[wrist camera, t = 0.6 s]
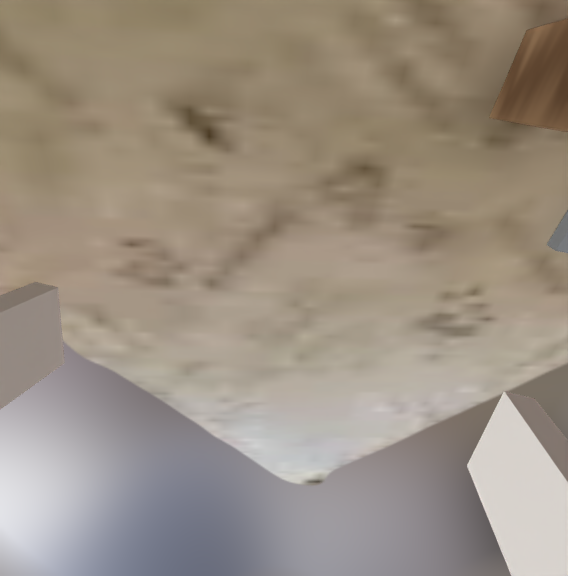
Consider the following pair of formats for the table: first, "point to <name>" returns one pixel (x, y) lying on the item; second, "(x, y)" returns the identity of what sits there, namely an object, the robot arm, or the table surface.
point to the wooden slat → (538, 80)
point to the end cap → (560, 236)
